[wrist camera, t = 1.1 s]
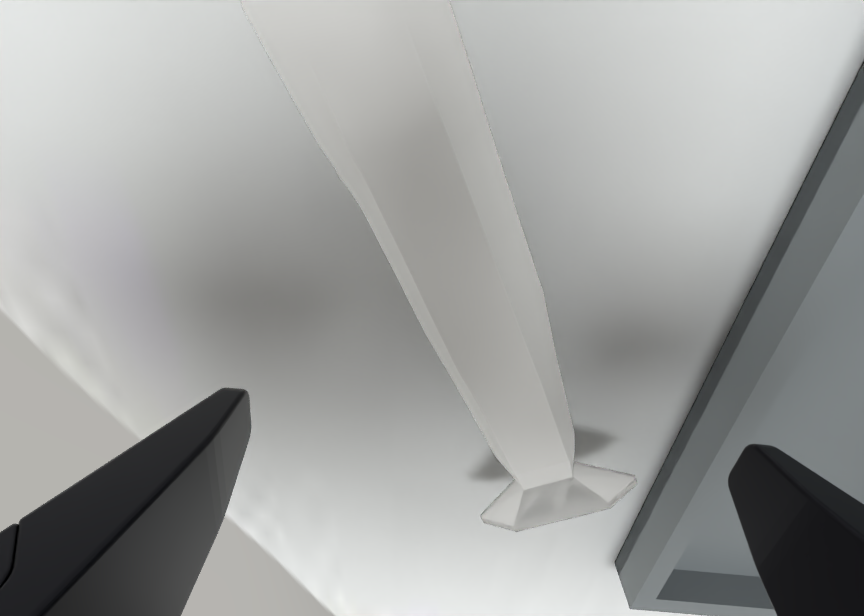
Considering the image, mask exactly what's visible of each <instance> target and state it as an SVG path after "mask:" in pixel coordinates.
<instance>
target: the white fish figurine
mask: <svg viewBox="0 0 864 616" xmlns="http://www.w3.org/2000/svg"><path fill="white" fill-rule="evenodd" d="M241 3H242V9H243V11H244V13H245V15H246V16H247V18H248V20H249V22H250V24H251V26H252V27H253V29H254V31H255V33H256V35H257V36H258V38H259V40H260V42H261V44H262V46H263V47H264V49H265V51H266V53H267V55H268V56H269V58H270V60H271V62H272V64H273V66H274V67H275V69H276V71H277V73H278V75H279V76H280V78H281V80H282V82H283V83H284V85H285V87H286V89H287V91H288V92H289V94H290V96H291V98H292V100H293V101H294V103H295V105H296V107H297V108H298V110H299V112H300V114H301V116H302V117H303V119H304V121H305V123H306V125H307V126H308V128H309V130H310V132H311V133H312V135H313V137H314V138H315V140H316V141H317V143H318V145H319V146H320V148H321V149H322V151H323V152H324V154H325V156H326V157H327V158H328V160H329V161H330V162H331V164H332V165H333V166H334V168H335V170H336V172H337V175H338V177H339V179H340V180H341V181H342V182H343V183H344V184H345V185H346V186H347V188H348V189H349V191H350V192H351V194H352V196H353V197H354V199H355V200H356V202H357V203H358V205H359V206H360V208H361V210H362V211H363V213H364V215H365V217H366V219H367V221H368V223H369V225H370V227H371V229H372V230H373V232H374V234H375V236H376V238H377V240H378V242H379V244H380V246H381V248H382V250H383V252H384V254H385V256H386V258H387V260H388V262H389V264H390V266H391V268H392V269H393V271H394V273H395V275H396V277H397V279H398V281H399V283H400V285H401V287H402V289H403V291H404V293H405V295H406V297H407V299H408V301H409V303H410V305H411V307H412V309H413V311H414V313H415V315H416V317H417V319H418V321H419V323H420V325H421V327H422V329H423V331H424V332H425V334H426V336H427V338H428V340H429V341H430V343H431V345H432V346H433V348H434V350H435V351H436V353H437V355H438V357H439V358H440V360H441V362H442V363H443V365H444V367H445V368H446V370H447V372H448V373H449V375H450V377H451V379H452V380H453V382H454V384H455V385H456V387H457V389H458V391H459V393H460V394H461V396H462V398H463V400H464V402H465V403H466V405H467V407H468V409H469V410H470V412H471V414H472V416H473V418H474V419H475V421H476V423H477V425H478V427H479V428H480V430H481V432H482V434H483V436H484V437H485V439H486V441H487V443H488V444H489V446H490V448H491V450H492V452H493V453H494V455H495V457H496V458H497V459H498V460H499V461H500V463H501V464H502V465H503V466H504V467H505V468H506V470H507V471H508V472H509V473H510V474H511V475H512V476H513V477H514V480H513V481H512V482H511V483H510V484H509V485H508V486H507V487H506V489H505V490H504V491H503V492H502V493H501V494H500V495H499V496H498V497H497V498H496V499H495V500H494V501H493V502H492V503H491V505H490V506H489V507H488V508H487V509H486V510H485V511H484V512H483V513H482V514H481V519H482V520H483V522H484V523H486V524H490V525H493V526H497V527H501V528H504V529H508V530H512V531H515V532H518V531H522V530H526V529H530V528H534V527H538V526H542V525H546V524H550V523H554V522H558V521H562V520H566V519H570V518H574V517H578V516H582V515H586V514H590V513H595V512H599V511H603V510H607V509H611V508H612V507H613V506H614V505H615V504H616V503H617V502H618V501H619V500H620V499H622V498H623V497H624V496H625V495H626V494H627V493H628V492H629V491H630V490H631V489H632V488H634V487H635V486H636V485H637V480H636V477H635V475H631V474H627V473H623V472H618V471H614V470H609V469H605V468H601V467H596V466H592V465H588V464H583V463H579V462H574V454H575V433H574V429H573V424H572V420H571V416H570V411H569V407H568V403H567V399H566V394H565V390H564V386H563V381H562V377H561V373H560V368H559V364H558V360H557V355H556V351H555V346H554V341H553V336H552V331H551V326H550V321H549V316H548V311H547V306H546V302H545V297H544V293H543V290H542V287H541V284H540V281H539V278H538V275H537V272H536V268H535V265H534V262H533V259H532V256H531V253H530V250H529V247H528V244H527V241H526V238H525V235H524V232H523V229H522V226H521V223H520V220H519V217H518V214H517V211H516V208H515V205H514V201H513V198H512V195H511V192H510V189H509V186H508V183H507V180H506V177H505V174H504V171H503V168H502V165H501V162H500V159H499V156H498V152H497V149H496V146H495V143H494V140H493V137H492V133H491V130H490V127H489V124H488V120H487V116H486V113H485V111H484V108H483V105H482V101H481V98H480V95H479V91H478V88H477V85H476V82H475V79H474V75H473V72H472V69H471V66H470V63H469V60H468V57H467V53H466V50H465V47H464V44H463V41H462V38H461V35H460V32H459V29H458V26H457V22H456V19H455V16H454V13H453V10H452V7H451V4H450V1H449V0H241Z"/></svg>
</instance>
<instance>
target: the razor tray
mask: <svg viewBox="0 0 864 616" xmlns="http://www.w3.org/2000/svg"><path fill="white" fill-rule="evenodd" d="M749 444H764V445H771V446H774V447H776V448H778V449H780V450H781V451H783V452H784V453H786V454H787V455H789V456H790V457H792V458H794V459H795V460H797V461H798V462H800V463H801V464H803V465H804V466H806V467H807V468H809V469H810V470H812V471H813V472H815V473H817V474H818V475H820V476H821V477H823V478H824V479H826V480H827V481H829V482H830V483H832V484H833V485H835V486H836V487H838V488H840V489H841V490H843V491H844V492H846V493H847V494H849V495H850V496H852V497H853V498H855V499H856V500H858V501H859V502H861V503H863V504H864V63H863V65H862V67H861V69H860V71H859V73H858V75H857V77H856V79H855V81H854V83H853V85H852V87H851V89H850V91H849V93H848V95H847V97H846V99H845V101H844V103H843V105H842V107H841V109H840V111H839V113H838V115H837V117H836V119H835V121H834V123H833V125H832V127H831V129H830V131H829V133H828V135H827V137H826V139H825V141H824V143H823V145H822V147H821V149H820V151H819V153H818V155H817V157H816V159H815V161H814V163H813V165H812V167H811V170H810V172H809V174H808V176H807V178H806V180H805V182H804V184H803V186H802V188H801V190H800V192H799V194H798V196H797V198H796V200H795V202H794V204H793V206H792V208H791V210H790V212H789V214H788V216H787V218H786V220H785V222H784V224H783V226H782V228H781V230H780V232H779V234H778V236H777V238H776V240H775V242H774V244H773V246H772V248H771V250H770V252H769V254H768V256H767V258H766V260H765V262H764V264H763V266H762V268H761V270H760V272H759V274H758V276H757V278H756V280H755V282H754V284H753V286H752V288H751V290H750V292H749V294H748V296H747V298H746V300H745V302H744V304H743V306H742V308H741V310H740V312H739V314H738V316H737V318H736V320H735V322H734V324H733V326H732V328H731V330H730V332H729V334H728V336H727V338H726V340H725V342H724V344H723V346H722V348H721V350H720V352H719V354H718V356H717V358H716V360H715V362H714V364H713V366H712V368H711V371H710V373H709V375H708V377H707V379H706V381H705V383H704V385H703V387H702V389H701V391H700V393H699V395H698V397H697V399H696V401H695V403H694V405H693V407H692V409H691V411H690V413H689V415H688V417H687V419H686V421H685V423H684V425H683V427H682V429H681V431H680V433H679V435H678V437H677V439H676V441H675V443H674V445H673V447H672V449H671V451H670V453H669V455H668V457H667V459H666V461H665V463H664V465H663V467H662V469H661V471H660V473H659V475H658V477H657V479H656V481H655V483H654V485H653V487H652V489H651V491H650V493H649V495H648V497H647V499H646V501H645V503H644V505H643V507H642V509H641V511H640V513H639V515H638V517H637V519H636V521H635V523H634V525H633V527H632V529H631V531H630V533H629V535H628V537H627V539H626V541H625V543H624V545H623V547H622V549H621V551H620V553H619V555H618V557H617V559H616V561H615V566H616V569H617V572H618V575H619V578H620V581H621V584H622V587H623V590H624V593H625V596H626V599H627V602H628V605H629V608H630V609H636V610H648V611H660V612H672V613H683V614H695V615H707V616H777V615H776V612H775V610H774V608H773V606H772V603H771V601H770V599H769V597H768V594H767V592H766V590H765V588H764V586H763V583H762V581H761V579H760V576H759V574H758V571H757V569H756V566H755V563H754V561H753V558H752V555H751V552H750V549H749V546H748V544H747V541H746V538H745V535H744V532H743V529H742V526H741V523H740V520H739V517H738V514H737V511H736V508H735V505H734V502H733V499H732V497H731V494H730V491H729V487H728V476H729V473H730V471H731V470H732V468H733V466H734V465H735V463H736V461H737V460H738V458H739V456H740V454H741V453H742V451H743V449H744V448H745V447H746V446H747V445H749Z"/></svg>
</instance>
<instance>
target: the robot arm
mask: <svg viewBox="0 0 864 616" xmlns="http://www.w3.org/2000/svg"><path fill="white" fill-rule="evenodd" d="M250 433H251V415H250V400H249V394H248V392H247V391H246V390H244V389H235V388H222V389H220V390H218V391H217V392H215V393H214V394H212V395H211V396H209V397H208V398H206V399H204V400H203V401H201V402H200V403H198V404H197V405H195V406H194V407H192V408H191V409H189V410H188V411H186V412H184V413H183V414H181V415H180V416H178V417H177V418H175V419H174V420H172V421H171V422H169V423H168V424H166V425H165V426H163V427H161V428H160V429H158V430H157V431H155V432H154V433H152V434H151V435H149V436H148V437H146V438H145V439H143V440H141V441H140V442H138V443H137V444H135V445H134V446H132V447H131V448H129V449H128V450H126V451H125V452H123V453H122V454H120V455H118V456H117V457H115V458H114V459H112V460H111V461H109V462H108V463H106V464H105V465H104V466H102V467H100V468H99V469H97V470H96V471H94V472H92V473H91V474H89V475H88V476H86V477H85V478H83V479H82V480H80V481H79V482H77V483H75V484H74V485H73V486H71V487H69V488H68V489H66V490H65V491H63V492H62V493H60V494H59V495H57V496H55V497H54V498H52V499H51V500H49V501H48V502H46V503H45V504H43V505H42V506H41V507H39V508H37V509H36V510H34V511H33V512H31V513H29V514H28V515H26V516H25V517H23V518H22V519H21V520H20V521H19V525H18V524H12V525H11V526H9V527H8V528H6V529H5V530H3V531H1V532H0V616H181V614H182V612H183V609H184V607H185V605H186V603H187V600H188V598H189V596H190V594H191V592H192V589H193V587H194V585H195V583H196V580H197V578H198V576H199V574H200V572H201V569H202V567H203V565H204V563H205V560H206V558H207V556H208V553H209V551H210V549H211V547H212V545H213V543H214V540H215V538H216V536H217V534H218V531H219V529H220V526H221V524H222V522H223V519H224V516H225V513H226V510H227V507H228V504H229V501H230V498H231V495H232V491H233V488H234V485H235V482H236V479H237V476H238V473H239V470H240V466H241V463H242V460H243V457H244V454H245V451H246V448H247V444H248V441H249V438H250ZM728 487H729V491H730V494H731V497H732V499H733V502H734V505H735V508H736V511H737V514H738V517H739V520H740V523H741V526H742V529H743V532H744V535H745V538H746V541H747V544H748V546H749V549H750V552H751V555H752V558H753V561H754V563H755V566H756V569H757V571H758V574H759V576H760V579H761V581H762V583H763V586H764V588H765V590H766V592H767V594H768V597H769V599H770V601H771V603H772V606H773V608H774V610H775V612H776V615H777V616H864V504H863V503H861V502H859V501H858V500H856V499H855V498H853V497H852V496H850V495H849V494H847V493H846V492H844V491H843V490H841V489H840V488H838V487H836V486H835V485H833V484H832V483H830V482H829V481H827V480H826V479H824V478H823V477H821V476H820V475H818V474H817V473H815V472H813V471H812V470H810V469H809V468H807V467H806V466H804V465H803V464H801V463H800V462H798V461H797V460H795V459H794V458H792V457H790V456H789V455H787V454H786V453H784V452H783V451H781V450H780V449H778V448H776V447H774V446H771V445H764V444H749V445H747V446H746V447H745V448H744V449H743V451H742V453H741V454H740V456H739V458H738V460H737V461H736V463H735V465H734V466H733V468H732V470H731V471H730V473H729V476H728Z"/></svg>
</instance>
